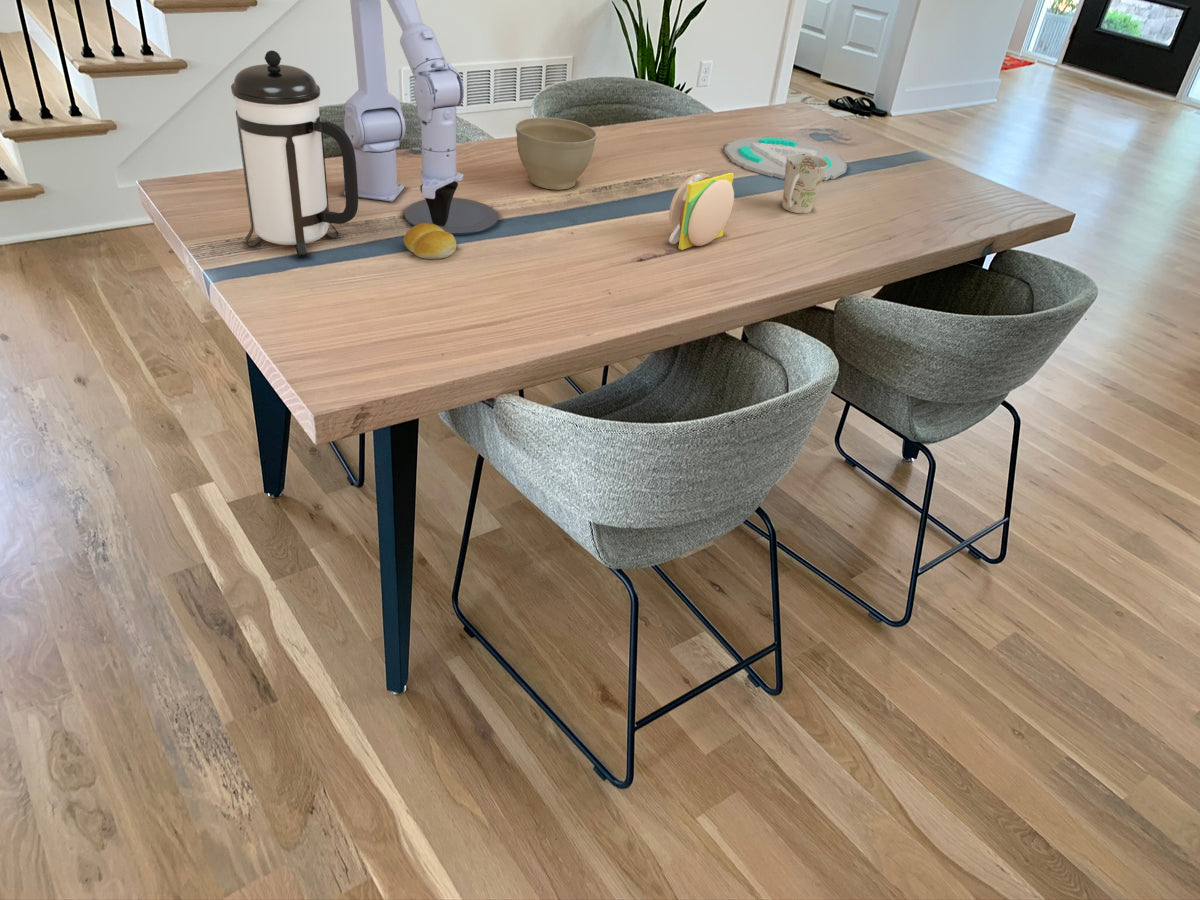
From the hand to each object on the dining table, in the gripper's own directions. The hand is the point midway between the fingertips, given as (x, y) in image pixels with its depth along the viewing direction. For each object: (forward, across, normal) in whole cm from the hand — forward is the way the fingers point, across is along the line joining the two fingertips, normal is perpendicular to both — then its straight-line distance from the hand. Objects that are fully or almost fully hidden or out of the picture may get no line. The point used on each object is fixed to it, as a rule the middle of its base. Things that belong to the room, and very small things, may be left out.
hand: (439, 224), depth 158 cm
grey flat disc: (+2, +70, -65) cm, 95 cm away
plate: (+2, +8, 0) cm, 9 cm away
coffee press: (+2, -11, +21) cm, 24 cm away
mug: (+2, +36, -65) cm, 74 cm away
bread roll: (+2, -7, 0) cm, 7 cm away
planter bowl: (+2, +33, -15) cm, 37 cm away
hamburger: (+2, +14, -45) cm, 47 cm away
